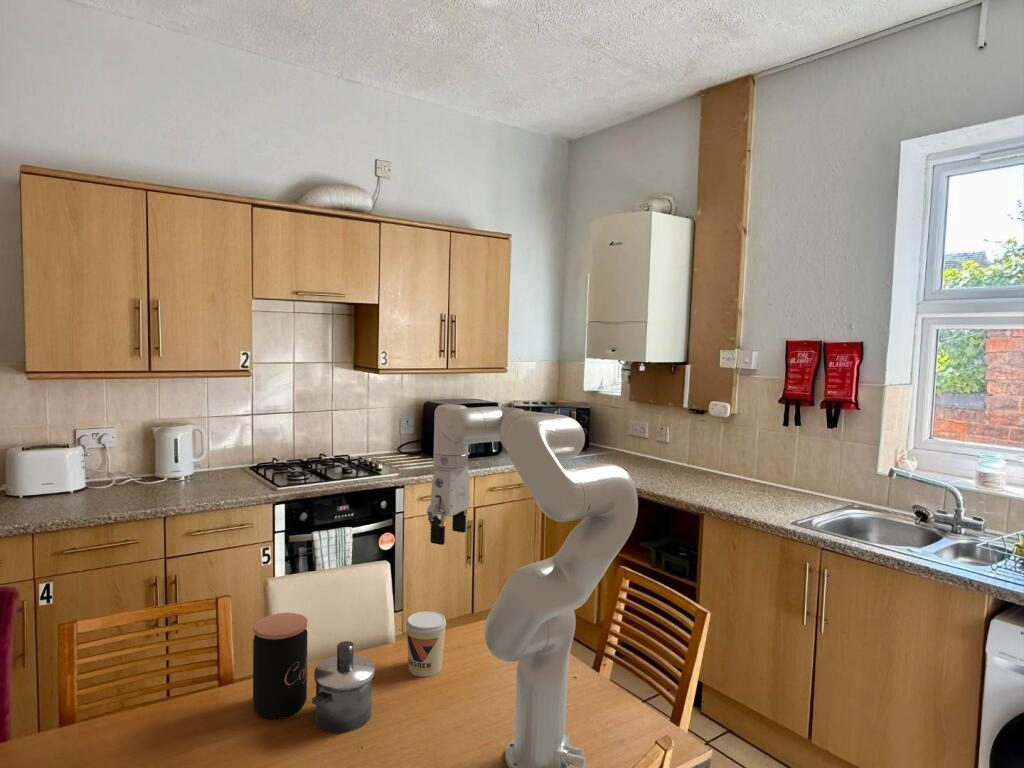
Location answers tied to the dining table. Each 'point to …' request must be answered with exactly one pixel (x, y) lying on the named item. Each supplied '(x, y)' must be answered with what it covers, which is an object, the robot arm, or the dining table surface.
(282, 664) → the coffee jar
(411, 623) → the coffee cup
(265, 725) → the dining table surface
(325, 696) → the pot
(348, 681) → the lid
